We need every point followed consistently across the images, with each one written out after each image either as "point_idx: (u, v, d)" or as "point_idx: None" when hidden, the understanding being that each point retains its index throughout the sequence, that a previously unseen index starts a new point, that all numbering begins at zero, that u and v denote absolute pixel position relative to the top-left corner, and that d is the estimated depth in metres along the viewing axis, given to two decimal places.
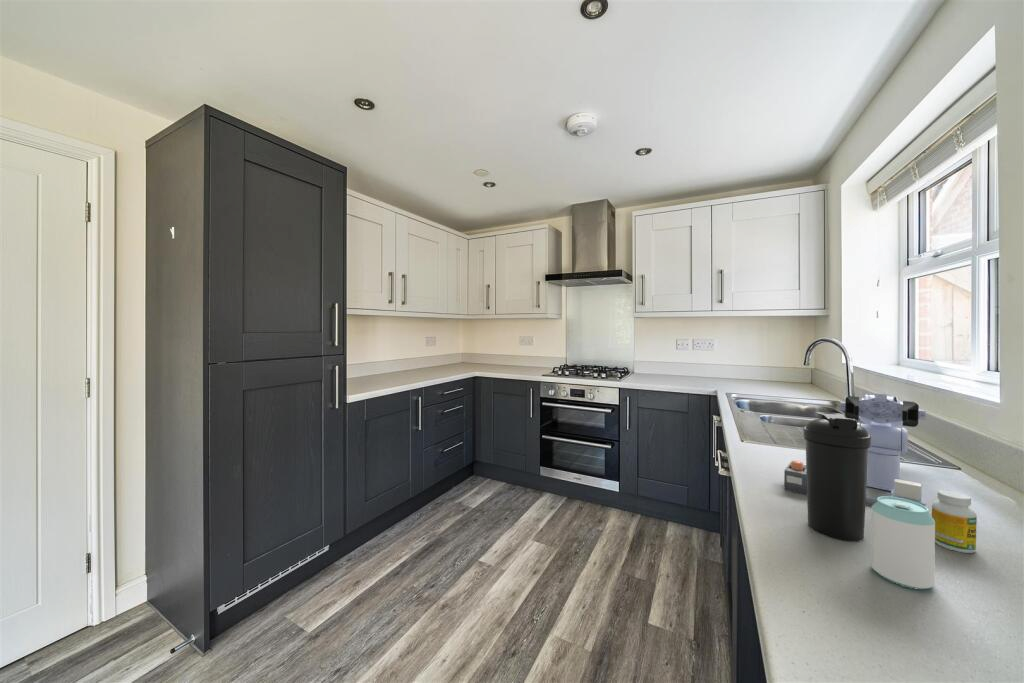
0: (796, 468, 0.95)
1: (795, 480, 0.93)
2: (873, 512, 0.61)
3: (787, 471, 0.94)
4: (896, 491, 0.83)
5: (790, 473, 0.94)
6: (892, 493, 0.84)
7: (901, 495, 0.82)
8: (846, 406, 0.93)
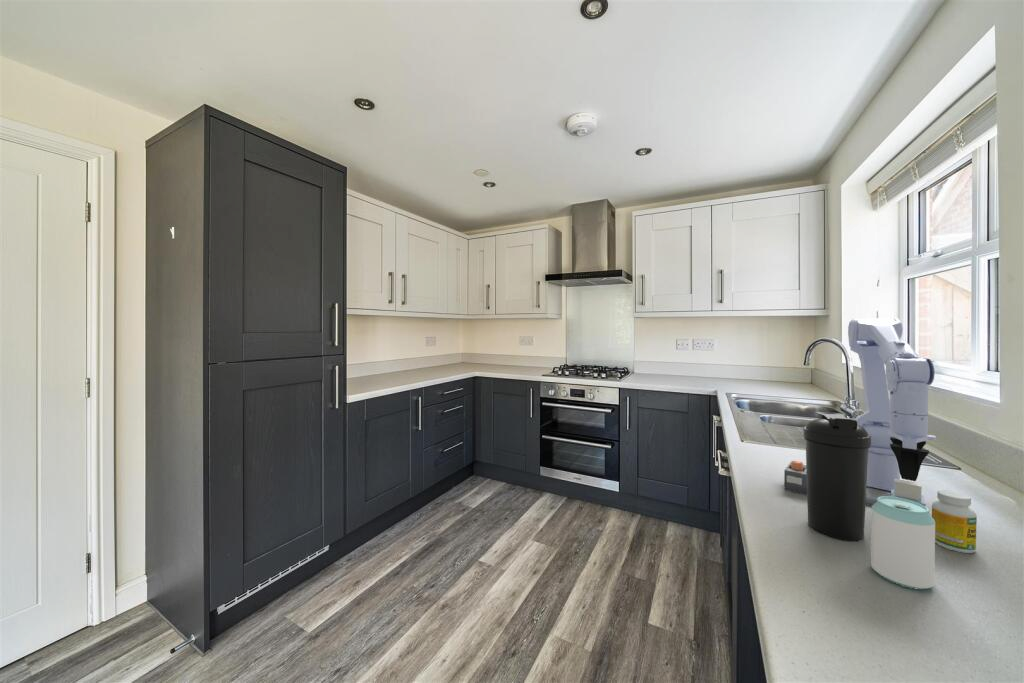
0: (796, 468, 0.95)
1: (795, 480, 0.93)
2: (873, 512, 0.61)
3: (787, 471, 0.94)
4: (896, 491, 0.83)
5: (790, 473, 0.94)
6: (892, 493, 0.84)
7: (901, 495, 0.82)
8: (910, 451, 0.78)
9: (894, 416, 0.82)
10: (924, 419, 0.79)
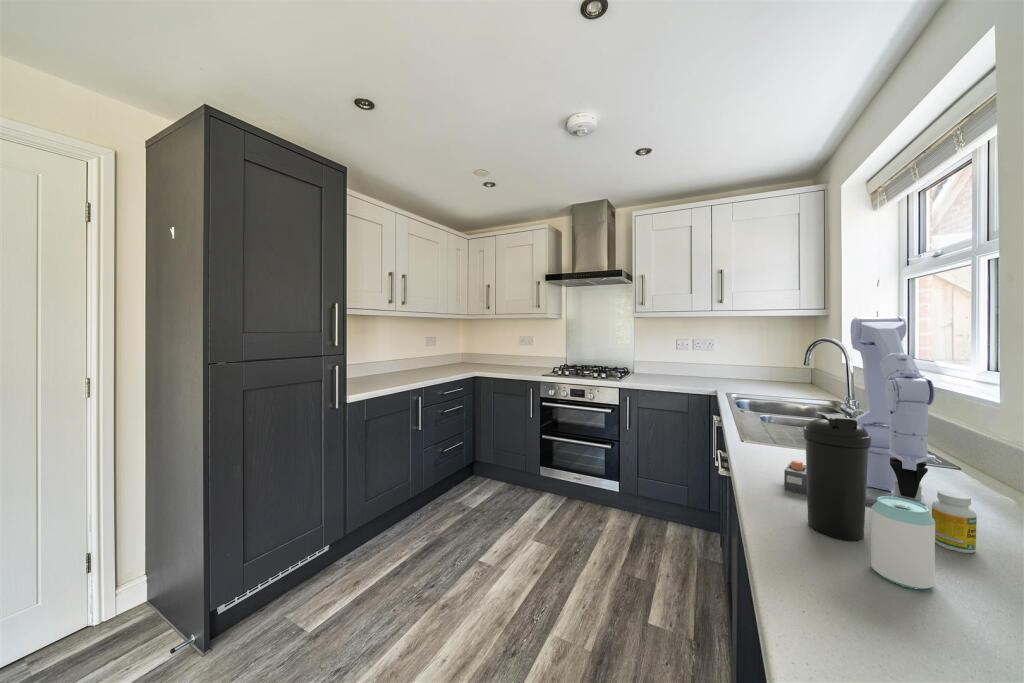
0: (796, 468, 0.95)
1: (795, 480, 0.93)
2: (873, 512, 0.61)
3: (787, 471, 0.94)
4: (896, 491, 0.83)
5: (790, 473, 0.94)
6: (892, 493, 0.84)
7: None
8: None
9: (894, 435, 0.82)
10: (924, 439, 0.79)
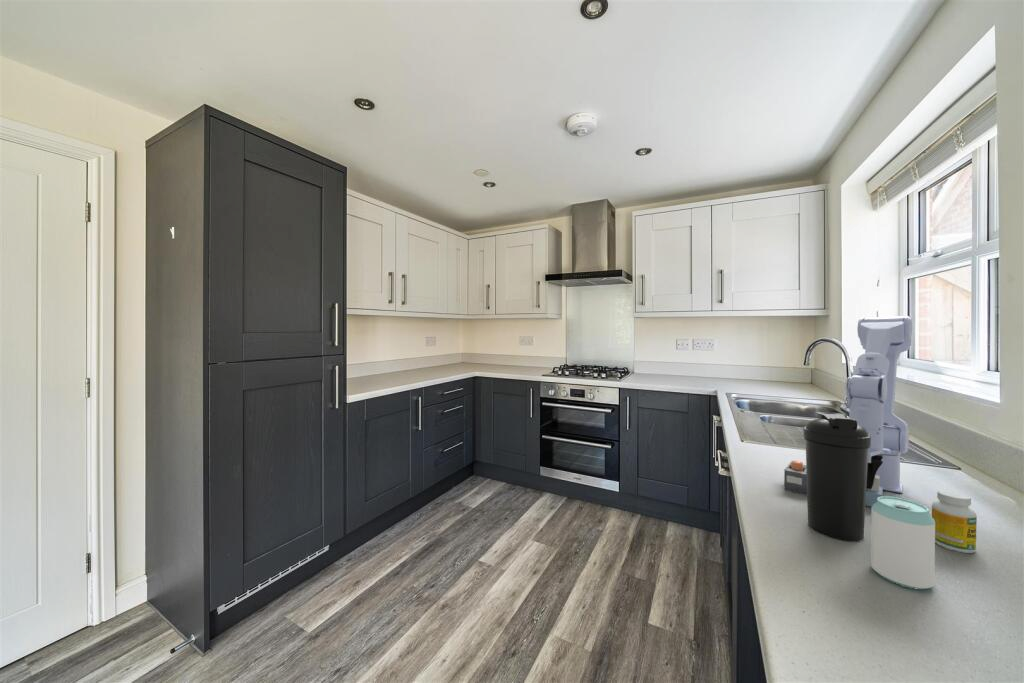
0: (796, 468, 0.95)
1: (795, 480, 0.93)
2: (873, 512, 0.61)
3: (787, 471, 0.94)
4: None
5: (790, 473, 0.94)
6: None
7: None
8: None
9: None
10: (879, 434, 0.84)
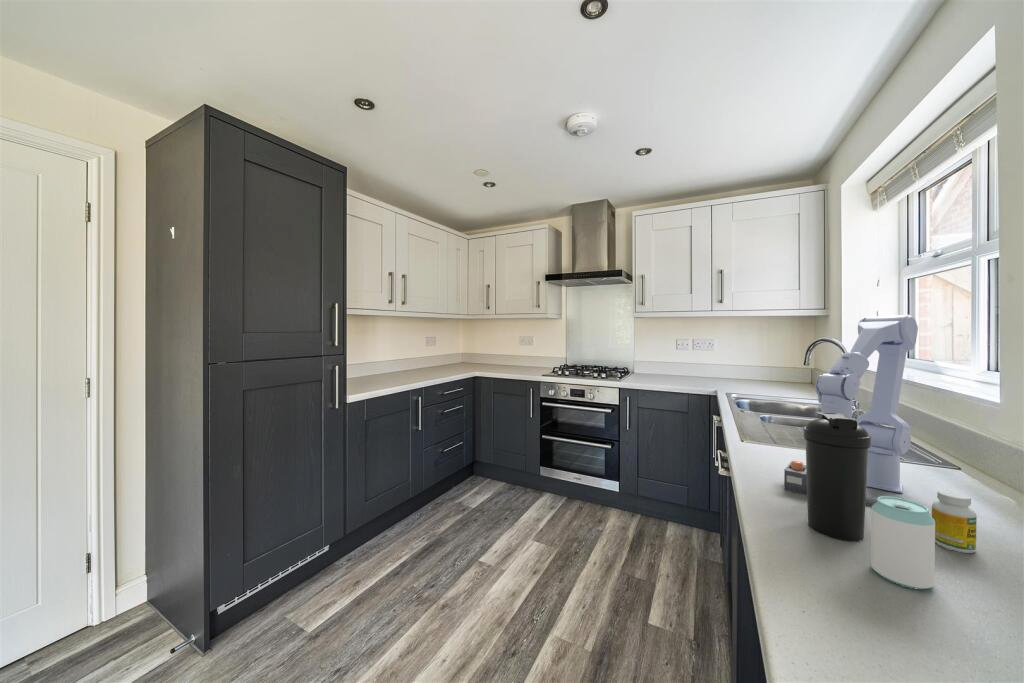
0: (796, 468, 0.95)
1: (795, 480, 0.93)
2: (873, 512, 0.61)
3: (787, 471, 0.94)
4: None
5: (790, 473, 0.94)
6: None
7: None
8: None
9: None
10: None
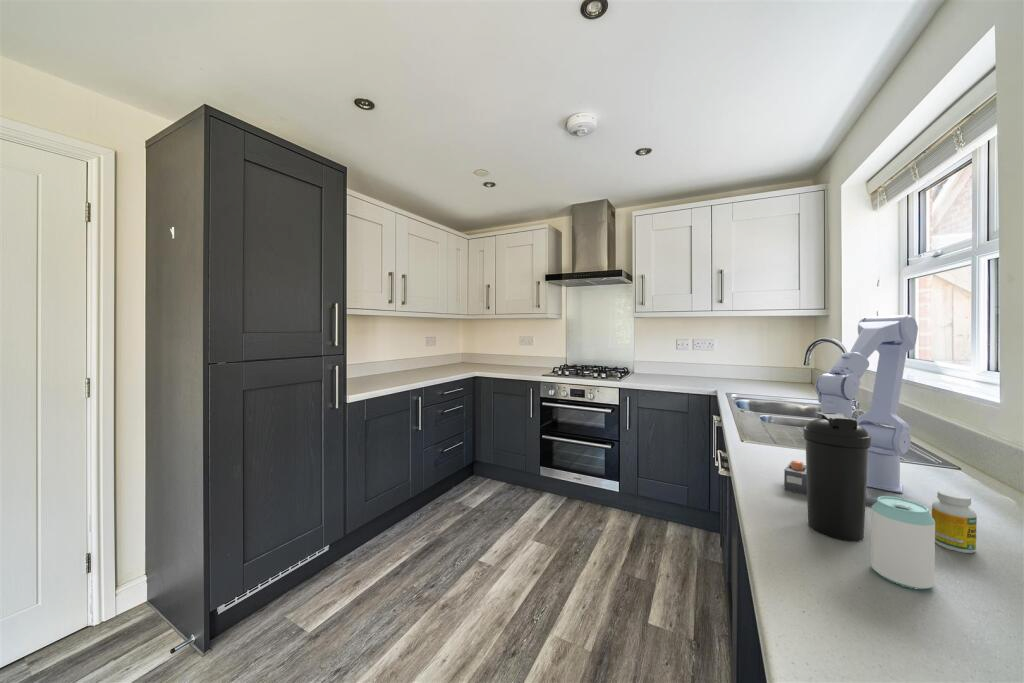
0: (796, 468, 0.95)
1: (795, 480, 0.93)
2: (873, 512, 0.61)
3: (787, 471, 0.94)
4: None
5: (790, 473, 0.94)
6: None
7: None
8: None
9: None
10: None
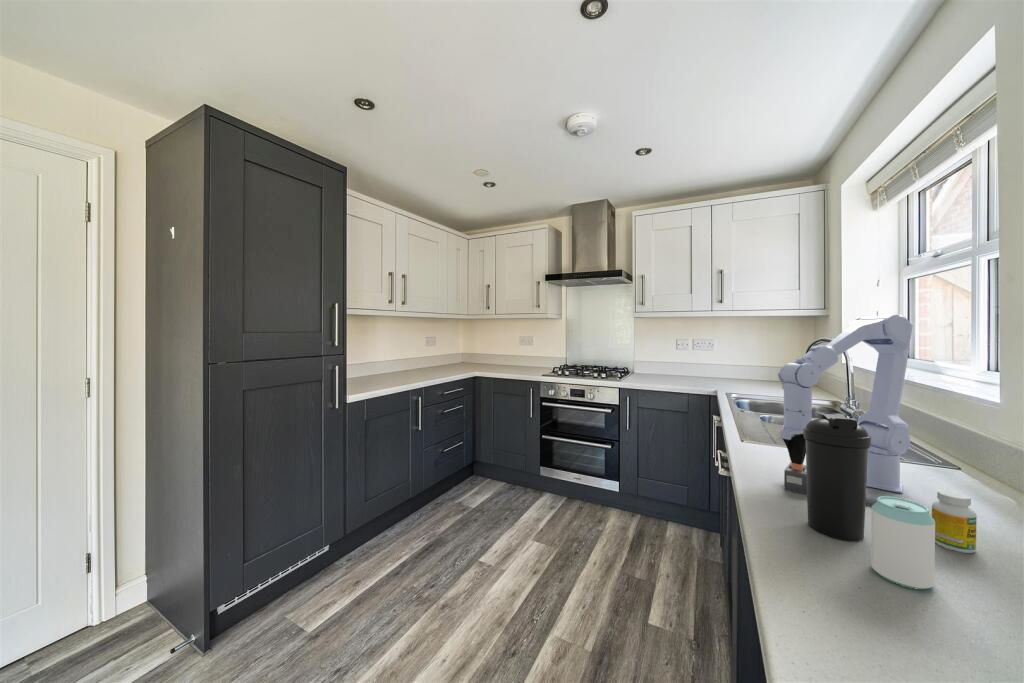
0: (796, 469, 0.95)
1: (795, 480, 0.93)
2: (873, 512, 0.61)
3: (787, 471, 0.94)
4: None
5: (790, 473, 0.94)
6: None
7: None
8: (794, 439, 0.95)
9: (784, 412, 0.97)
10: (805, 415, 0.93)
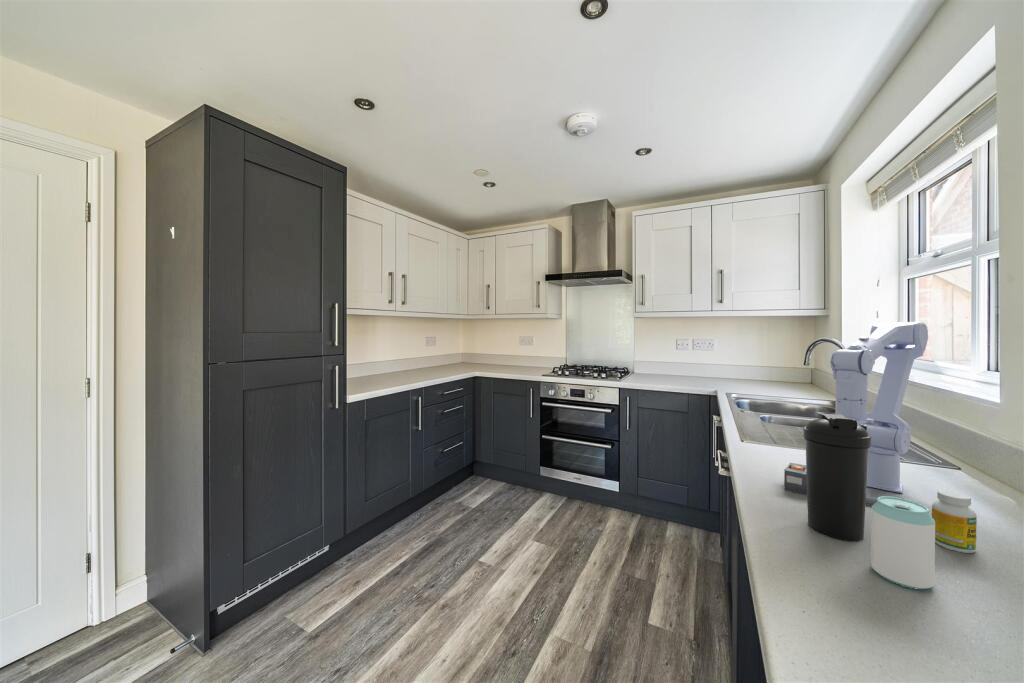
0: None
1: (795, 480, 0.93)
2: (873, 512, 0.61)
3: (787, 471, 0.94)
4: None
5: (790, 473, 0.94)
6: None
7: None
8: None
9: (838, 402, 0.91)
10: (863, 404, 0.88)
